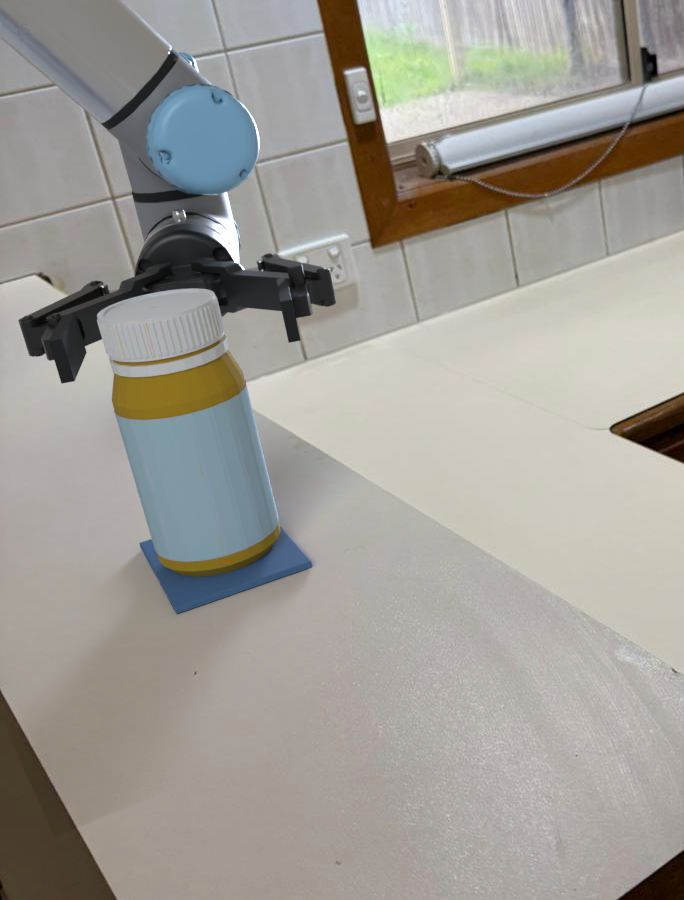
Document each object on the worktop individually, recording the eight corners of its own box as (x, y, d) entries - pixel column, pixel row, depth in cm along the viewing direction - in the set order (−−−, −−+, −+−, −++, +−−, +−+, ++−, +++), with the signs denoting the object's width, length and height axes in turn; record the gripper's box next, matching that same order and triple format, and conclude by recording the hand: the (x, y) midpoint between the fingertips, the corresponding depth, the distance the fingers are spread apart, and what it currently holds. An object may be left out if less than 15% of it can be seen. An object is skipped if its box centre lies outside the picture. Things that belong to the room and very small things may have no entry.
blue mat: (312, 567, 65) (310, 561, 64) (176, 614, 61) (174, 608, 61) (263, 509, 73) (261, 503, 72) (140, 548, 69) (139, 542, 69)
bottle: (210, 520, 71) (147, 286, 65) (306, 527, 68) (249, 285, 63) (134, 576, 65) (57, 324, 59) (236, 586, 63) (166, 324, 57)
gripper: (4, 249, 85) (-61, 318, 66) (340, 197, 91) (369, 248, 72) (34, 344, 88) (-20, 437, 69) (357, 289, 94) (390, 360, 75)
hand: (178, 341), depth 70 cm, fingers open, 13 cm apart
